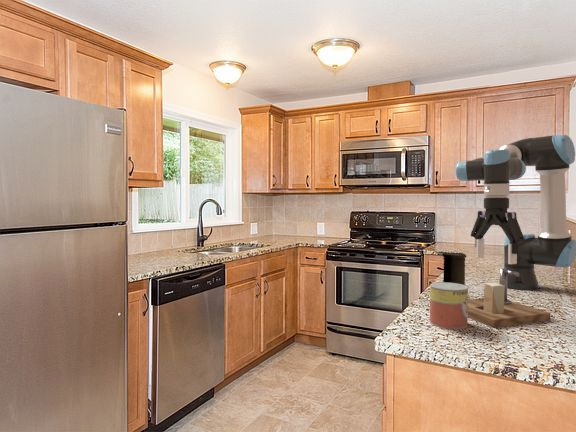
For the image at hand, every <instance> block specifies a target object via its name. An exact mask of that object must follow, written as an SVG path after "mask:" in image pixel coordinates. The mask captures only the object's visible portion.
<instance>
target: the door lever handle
mask: <svg viewBox="0 0 576 432" xmlns="http://www.w3.org/2000/svg"><path fill="white" fill-rule="evenodd" d="M508 275H511V276H516V277H519V276H520V273H519V272H515V271H510V270H508V269H504V267H503V268H502V267H501V268H499V281H500V284H501V285H504V286H505V292H504V304H511V301H512V300H509V299H508V288H507V280H508Z"/></svg>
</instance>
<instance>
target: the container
mask: <svg viewBox="0 0 576 432" xmlns="http://www.w3.org/2000/svg"><path fill="white" fill-rule="evenodd" d="M442 257H443V279H442V282H449V283H458V284H463V285H466V282H465V281H466V277H465V276H466V258H467V254H466V253H463V252H443V253H442Z"/></svg>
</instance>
